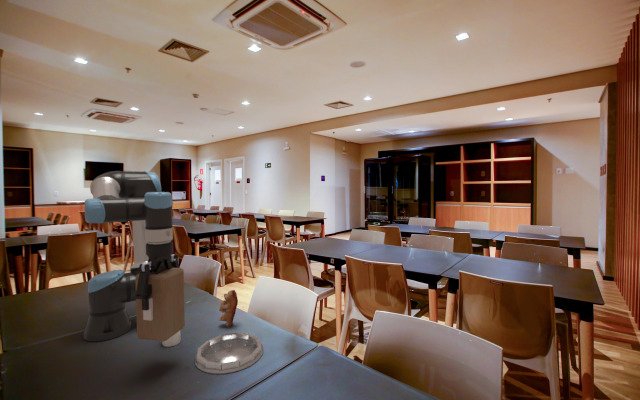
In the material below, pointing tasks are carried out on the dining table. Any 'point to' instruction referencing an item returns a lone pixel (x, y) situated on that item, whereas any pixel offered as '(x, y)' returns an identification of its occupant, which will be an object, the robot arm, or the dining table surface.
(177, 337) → the white domed cylinder
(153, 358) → the dining table surface
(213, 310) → the dining table surface
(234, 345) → the metallic bowl
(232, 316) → the figurine
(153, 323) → the block
